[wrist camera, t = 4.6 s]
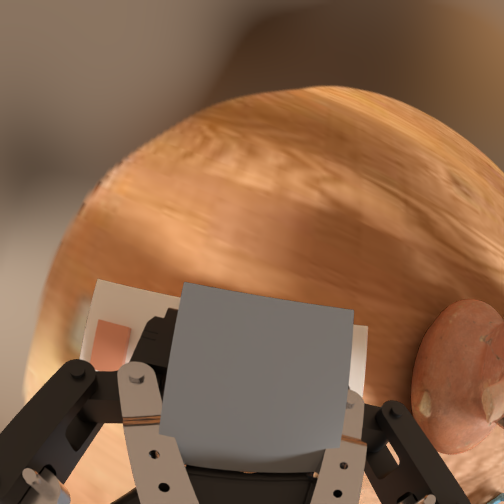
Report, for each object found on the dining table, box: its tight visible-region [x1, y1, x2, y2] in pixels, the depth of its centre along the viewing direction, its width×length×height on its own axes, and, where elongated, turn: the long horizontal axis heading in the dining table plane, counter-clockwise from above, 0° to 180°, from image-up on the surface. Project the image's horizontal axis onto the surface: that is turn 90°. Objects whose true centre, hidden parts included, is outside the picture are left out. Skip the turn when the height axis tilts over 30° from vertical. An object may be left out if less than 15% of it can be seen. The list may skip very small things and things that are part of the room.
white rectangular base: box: [80, 279, 368, 398], centre depth 16 cm, size 18×8×4 cm, turn 82°
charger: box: [156, 282, 354, 473], centre depth 11 cm, size 5×5×10 cm
